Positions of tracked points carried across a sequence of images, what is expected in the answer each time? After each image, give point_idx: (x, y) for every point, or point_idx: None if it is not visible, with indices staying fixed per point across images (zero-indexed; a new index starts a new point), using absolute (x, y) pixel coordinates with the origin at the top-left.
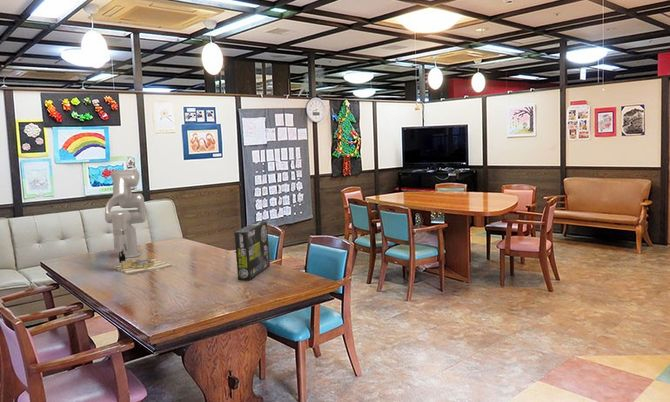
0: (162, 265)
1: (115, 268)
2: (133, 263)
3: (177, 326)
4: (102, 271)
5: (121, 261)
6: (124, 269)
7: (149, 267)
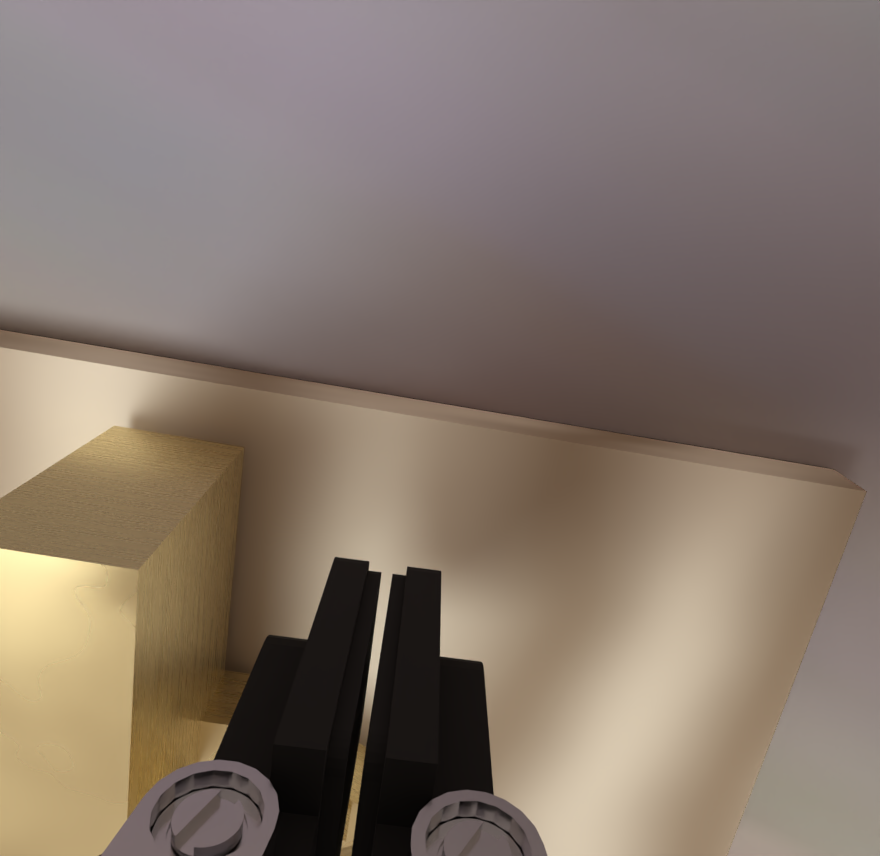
0: None
1: (661, 447)
2: None
3: None
4: (804, 50)
5: (77, 547)
6: None
7: None
